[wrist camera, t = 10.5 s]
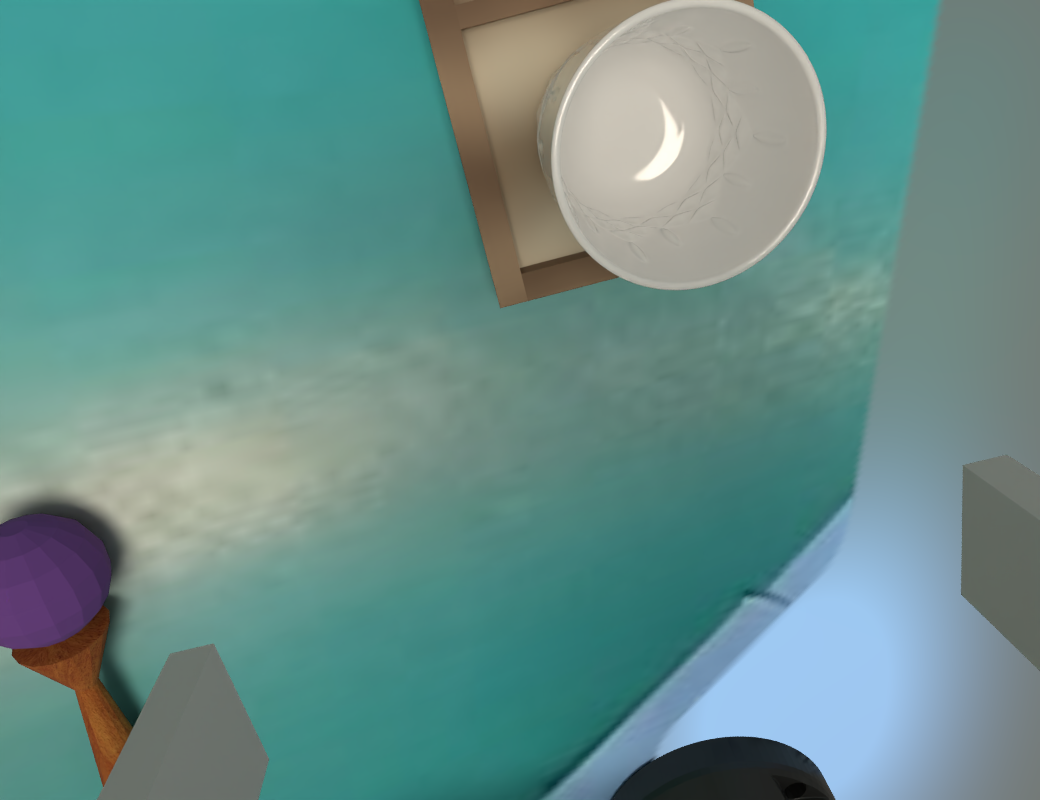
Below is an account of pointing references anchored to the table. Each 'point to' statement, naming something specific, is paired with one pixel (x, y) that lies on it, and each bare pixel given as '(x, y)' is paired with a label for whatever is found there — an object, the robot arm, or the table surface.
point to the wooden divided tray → (516, 128)
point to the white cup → (683, 141)
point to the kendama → (62, 617)
